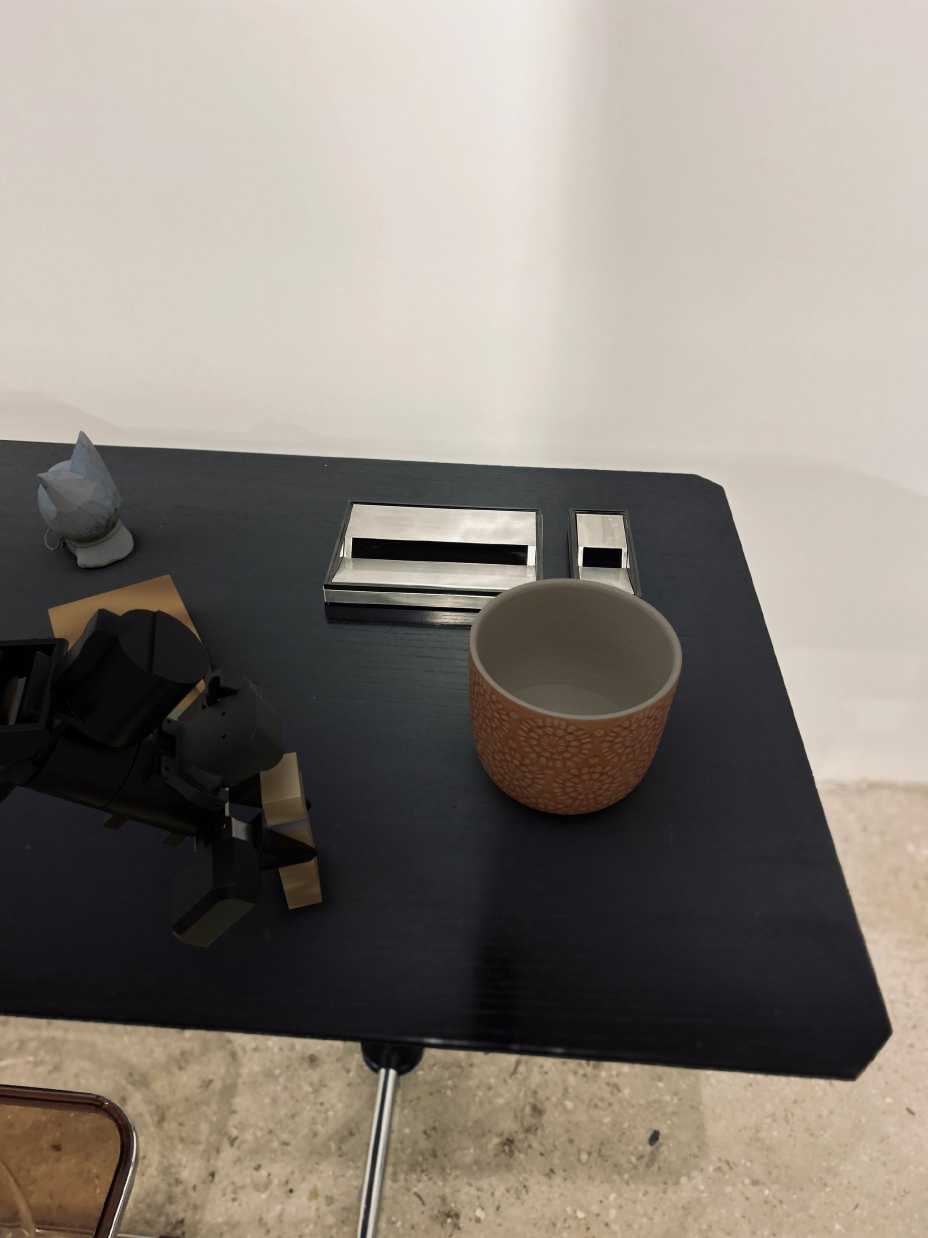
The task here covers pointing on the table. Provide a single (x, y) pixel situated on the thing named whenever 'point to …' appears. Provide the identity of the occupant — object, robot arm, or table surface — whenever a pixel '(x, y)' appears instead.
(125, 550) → the figurine
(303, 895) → the block
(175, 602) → the cabinet
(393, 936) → the table surface
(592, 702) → the planter
